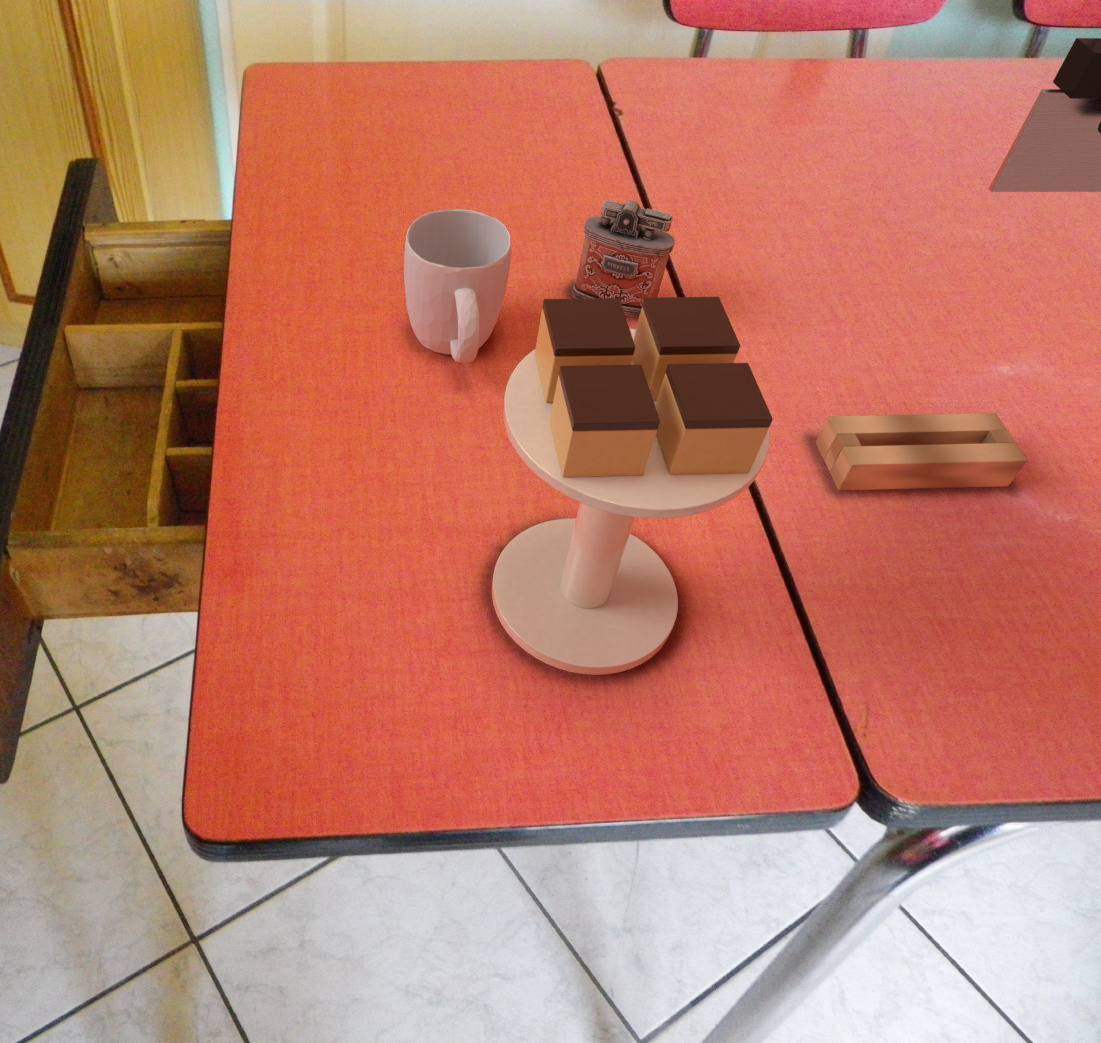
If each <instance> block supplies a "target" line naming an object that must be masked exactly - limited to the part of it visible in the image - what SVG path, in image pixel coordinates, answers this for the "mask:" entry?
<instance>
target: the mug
mask: <svg viewBox="0 0 1101 1043" xmlns="http://www.w3.org/2000/svg"><path fill="white" fill-rule="evenodd" d="M512 244H513V242H512V236H511V234H510V231H509V229H508V228H507V227H506V225H505V224H504V223H503V222H501V221H500V220H499V219H498V218H495V217H493V216H491V215H488V214H486V213H484V212H480V211H475V210H470V209H462V208H452V209H451V208H450V209H449V208H448V209H437V210H434V211H430V212H427V213H424V214H422V215H420V216H419V217H417V218H416V219H415V220H414V221H412V223H411V224H410V226H409V227H408V229H407V232H406V236H405V245H404V257H403V258H404V260H403V262H404V265H403V281H404V294H405V304H406V311H407V314H408V317H409V323H410V326H411V329H412V332H413V333H414V335H415V338H416V339H417V340H418V341H419V344H421V345H422V346H423V347H424V348H426V349H428V350H430V351H431V352H435V353H437V354H442V355H449V356H450V355H451V357H452V359H453V360H454V361H455V362H456V363H458V364H467V363H472V362H474V360H475V359H476V358H477V355H478V353H479V349H480V348H481V347H483V346H484V344H485V343H486V341H487V340H488V339H489V338H490V337H491V335H492V332H493V331H494V329H495V326H496V324H497V321H498V319H499V317H500V313H501V309H502V307H503V303H504V300H505V295H506V292H507V287H508V280H509V273H510V267H511V260H512Z"/></svg>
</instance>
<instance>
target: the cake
mask: <svg viewBox="0 0 1101 1043" xmlns="http://www.w3.org/2000/svg"><path fill="white" fill-rule="evenodd" d="M630 329H631V328H630V326H629V323H628V320H627V317H626V315H625V314H624V311H623V308H622V305H621V301H620V299H619V298H588V299H576V298H544V299H543V302H542V309H541V313H540V320H539V326H538V332H537V338H536V344H535V348H534V349H535V357H536V361H537V366H538V370H539V374H540V379H541V383H542V388H543V392H544V397H545V401H546V403H553V406H552V411H551V416H550V424H551V429H552V433H553V438H554V442H555V447H556V451H557V456H558V460H559V465H560V469H561V473H562V477H592V476H635V475H643V474H644V471H645V468H646V464H647V461H648V458H649V455H650V452H651V449H652V445H653V442H654V439H655V436H656V434H657V437H658V440H659V443H660V446H661V450H662V453H663V456H664V459H665V462H666V465H667V468H668V471H669V474H670V475H680V474H723V473H749V472H750V470H751V468H752V465H753V463H754V461H755V459H756V456H757V454H758V452H759V449H760V447H761V445H762V443H763V440H764V438H765V436H766V434H767V431H768V429H769V428H770V427H771V425H772V422H773V420H774V419H773V417H772V414H771V411H770V409H769V407H768V405H767V402H766V400H765V397H764V396H763V393H762V391H761V388H760V386H759V385H758V384H759V383H758V382H757V380H756V378H755V376H754V375H755V374H754V373H753V371H752V369H751V367H750V364H749V363H748V362H735V360H736V358H737V354H738V353H739V351H740V348H741V343H740V340H739V338H738V337H737V334H736V332H735V330H734V327H733V325H732V323H731V321H730V318H729V316H728V314H727V312H726V310H725V307H724V305H723V303H722V300H721V298H720V296H673V297H671V296H670V297H668V296H666V297H665V296H664V297H663V296H662V297H660V296H659V297H655V298H644V300H643V304H642V309H641V313H640V316H639V317H638V320H637V324H636V328H635V329H636V332H635V335H634V339H633V338H632V335H631V332H630ZM632 359H633V362H634V365H631V362H632ZM654 401H657V402H656V405H655V404H654Z"/></svg>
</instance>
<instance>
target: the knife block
mask: <svg viewBox="0 0 1101 1043" xmlns="http://www.w3.org/2000/svg"><path fill="white" fill-rule="evenodd" d="M815 445H816V446H817V449H818V451H819V453H820V455H821V457H822V460H823V461H824V463H825V466H826V467H827V470H828V472H829V474H830V476H831V479H832V481H833V482H834V484H835V486H836V489H837V491H870V490H872V491H873V490H909V489H910V490H911V489H914V490H916V489H917V490H918V489H946V488H947V489H953V488H958V489H959V488H991V487H992V488H995V487H996V488H997V487H998V488H999V487H1009V486H1010V484H1011V483H1012V481H1014V479H1015V478H1016V476H1017V475H1018V474H1019V472H1020V471H1021V470H1022V469H1023V467H1024V466H1025V464H1026V463H1027V462H1028V460H1027V458H1026V456H1025V454H1024V453H1023V452H1022V450H1021V449H1020V447H1019V445H1018V443H1016V441H1015V440H1014V438H1013V436H1012V434H1010V432H1009V430H1008V429H1007V427H1006V426H1005V425H1004V422H1002V420H1001V418H1000V417H999V416H998V414H997V413H996V412H984V413H983V412H980V413H978V412H977V413H974V412H973V413H936V414H935V413H933V414H931V413H930V414H929V413H928V414H925V413H923V414H884V415H883V414H880V415H879V414H877V415H876V414H875V415H873V414H872V415H830V416H828V417H827V418H826V421H825V422H824V424H823V427H822V429H821V431H820V433H819V434H818V436H817V438H816V441H815Z"/></svg>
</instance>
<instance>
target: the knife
mask: <svg viewBox="0 0 1101 1043" xmlns="http://www.w3.org/2000/svg"><path fill="white" fill-rule="evenodd" d="M1052 83H1053V84H1054V85H1055V86H1056V87H1057V88H1045V89H1044V88H1042V89H1041V90H1040V91H1039V93H1038V95H1037V97H1036V99H1035V101H1034V102H1033V105H1032V107H1031V108H1030V110H1029V112H1028V115H1027V116H1026V118H1025V119H1024V121H1023V124H1022V125H1021V127H1020V129H1019V130H1018V133H1017V135H1016V136H1015V138H1014V140H1013V142H1012V144H1011V146H1010V148H1009V150H1008V151H1007V153H1006V155H1005V157H1004V159H1003V161H1002V163H1001V165H1000V166H999V169H998V170H997V172H996V174H995V176H994V177H993V180H992V182H991V183H990V185H989V187H988V190H989V192H991V193H1101V133H1100V132H1099V131H1098V127H1099V123H1100V122H1101V38H1100V37H1099V38H1098V37H1094V38H1093V37H1077V38H1075V40H1074V41H1073V43H1072V45H1071V47H1070V49H1069V51H1068V52H1067V54H1066V56H1065V58H1064V60H1063V62H1062V64H1061V66H1060V67H1059V69H1058V71H1057V73H1056V75H1055V76H1054V78H1053V80H1052Z"/></svg>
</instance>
